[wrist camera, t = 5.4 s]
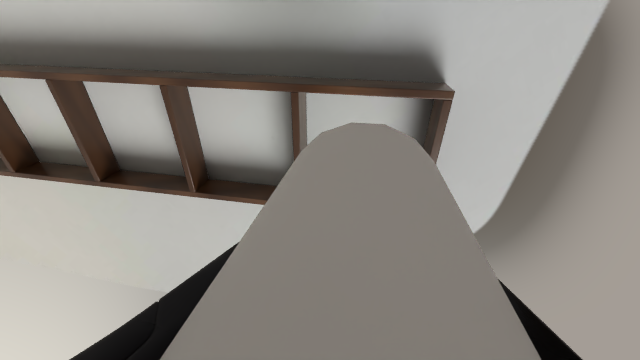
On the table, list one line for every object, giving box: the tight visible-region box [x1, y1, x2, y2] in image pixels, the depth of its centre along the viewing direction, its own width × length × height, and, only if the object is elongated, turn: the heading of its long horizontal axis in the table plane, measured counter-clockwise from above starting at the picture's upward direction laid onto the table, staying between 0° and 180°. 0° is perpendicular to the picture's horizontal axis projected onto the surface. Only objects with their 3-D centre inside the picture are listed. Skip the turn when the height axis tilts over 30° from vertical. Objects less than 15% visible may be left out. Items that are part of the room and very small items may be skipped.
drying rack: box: [0, 64, 455, 205], centre depth 22 cm, size 54×9×2 cm, turn 89°
